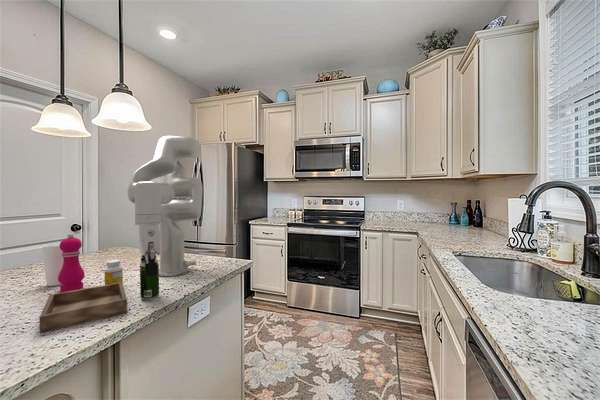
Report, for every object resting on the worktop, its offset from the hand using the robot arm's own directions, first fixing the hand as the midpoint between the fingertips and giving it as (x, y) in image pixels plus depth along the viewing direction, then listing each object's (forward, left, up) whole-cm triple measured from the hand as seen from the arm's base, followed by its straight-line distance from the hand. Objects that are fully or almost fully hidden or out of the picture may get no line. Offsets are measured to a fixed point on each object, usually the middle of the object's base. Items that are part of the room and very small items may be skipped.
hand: (148, 272), depth 87 cm
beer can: (0, -1, -9) cm, 9 cm away
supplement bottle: (+9, -19, -9) cm, 22 cm away
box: (+16, -1, -9) cm, 18 cm away
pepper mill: (+21, -26, -9) cm, 34 cm away
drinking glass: (+26, -36, -9) cm, 45 cm away
